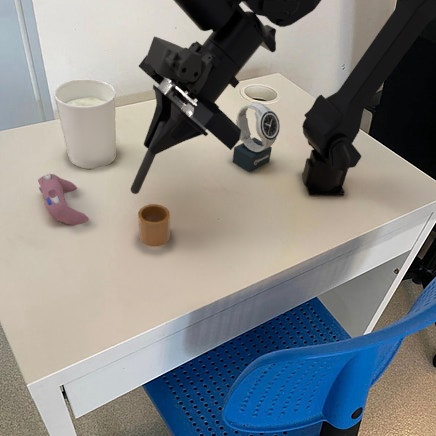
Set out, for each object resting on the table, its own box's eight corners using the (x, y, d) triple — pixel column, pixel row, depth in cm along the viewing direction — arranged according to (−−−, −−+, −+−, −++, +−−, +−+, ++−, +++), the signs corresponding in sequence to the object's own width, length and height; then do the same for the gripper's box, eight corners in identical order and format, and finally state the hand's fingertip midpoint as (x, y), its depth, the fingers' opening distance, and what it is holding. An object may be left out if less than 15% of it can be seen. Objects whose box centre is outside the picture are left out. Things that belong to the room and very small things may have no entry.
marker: (165, 181, 74) (165, 118, 67) (169, 186, 73) (169, 123, 66) (129, 191, 72) (125, 127, 64) (133, 196, 71) (129, 132, 63)
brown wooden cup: (160, 229, 77) (160, 200, 73) (174, 246, 75) (175, 218, 71) (134, 237, 76) (132, 209, 72) (147, 255, 73) (146, 227, 69)
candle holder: (109, 176, 86) (102, 111, 77) (55, 166, 86) (42, 100, 78) (127, 146, 92) (123, 84, 84) (77, 137, 93) (68, 74, 84)
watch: (257, 177, 89) (266, 121, 81) (225, 157, 92) (231, 101, 84) (277, 166, 92) (288, 111, 84) (245, 147, 95) (253, 92, 87)
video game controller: (55, 202, 82) (28, 173, 77) (78, 187, 82) (53, 158, 76) (68, 240, 76) (39, 212, 71) (93, 224, 76) (66, 195, 70)
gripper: (150, -13, 63) (77, 87, 66) (230, 43, 53) (139, 158, 56) (200, 43, 72) (134, 128, 75) (276, 100, 62) (196, 196, 65)
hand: (148, 149), depth 68 cm, fingers closed on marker, 1 cm apart
